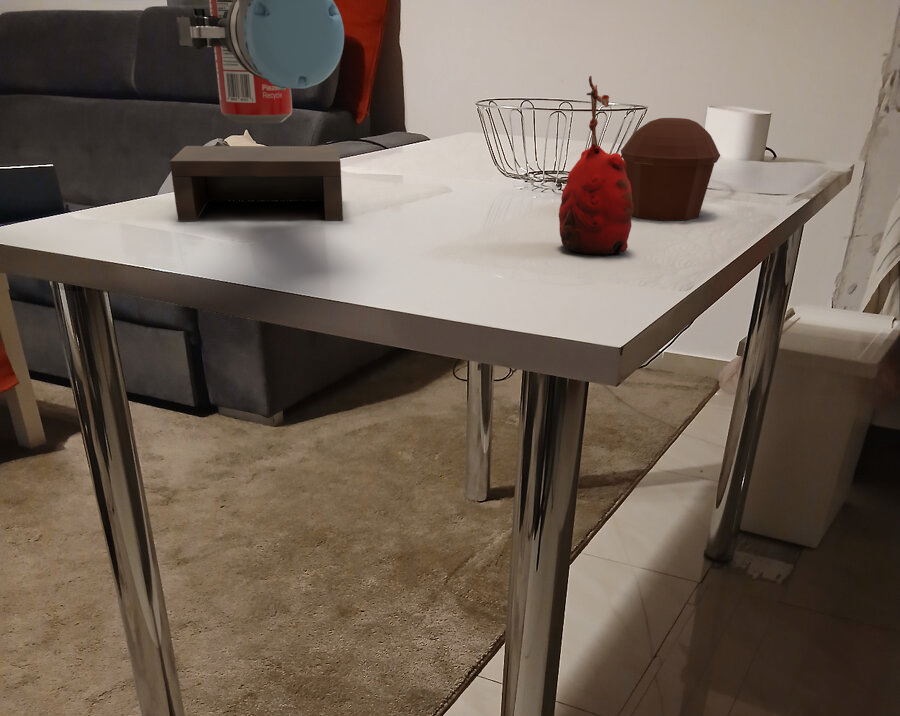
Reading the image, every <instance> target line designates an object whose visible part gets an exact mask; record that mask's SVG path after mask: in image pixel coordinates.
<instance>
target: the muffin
mask: <svg viewBox="0 0 900 716" xmlns="http://www.w3.org/2000/svg"><path fill="white" fill-rule="evenodd" d="M620 155H621V157H622V159H623V160H624V161H625V162H626V165H627V166H626V174H627V178H628V180H629V181H630V184H631V192H632V203H633V206H634V211H633V214H632V217H634V218H637V219H646V220H655V221H687V220H692V219H698V218H699V217H700V214H701V211H702V207H703V204H704V200H705V197H706V194H707V190H708V187H709V184H710V180H711V178H712V177H711V176H712V173H713V170H714V167H715V164H716V163H718V161H719V159H720V157H721V154H720V152H719V149H718V147H717V145H716V143H715V141H714V138H713V137H712V135H711V134H710V133H709V132H708V130H707V129H706V128H705V127H703V126H702V125H701V124H700V123H699V122H697V121H695V120H692V119H689V118H682V117H660V118H657V119H653V120H650V121H648V122H647V123H645V124H644V125H642V126H641V127H639V128H638V129H637V130H635V132H633V134H632V135H631V136H630V138H628V140H627V141H626V143H625V144H624V146H623V147H622V148H621V149H620Z"/></svg>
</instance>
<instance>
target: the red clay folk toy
mask: <svg viewBox="0 0 900 716" xmlns="http://www.w3.org/2000/svg"><path fill="white" fill-rule="evenodd" d="M588 76H589V77H588V83H589V87H590V89H591V91H590V92H586V96H590V100H591V116H592V119H590V120H589V124H588V128H589V129H590V131H591V133H592V134H591V142H590V143H591V145H590V147H589V148H587V149H585V150H583V151H582V152H581V154H580V157H579V159H578V160H577V162H576V163H575V164H574V165H573V167H572V168H571V169H570V171H569V173H568V175H567V178H566V184H565V186H564V187H563V189H562V194H561V202H560V206H559V209H558V222H559V237H560V239H561V244H562V246H563V247H564V248H566V249H567V250H569V251H572V252H575V253H578V254H585V255H598V256H599V255H611V254H613V253H617V254H623V253H624V252H626V251H627V249H628V247H629V245H628V244H629V243H628V240H629V238H630V237H629V236H630V234H631V230H632V217H633V216H632V214H633V211H634V206H633V203H632V192H631V184H630V181H629V180H628V178H627V174H626V166H627V165H626V162H625V161H624V159H623V158H622V155H621V153H617V152H614V153H611V154H610V153H608V152H606V151H605V150H604V149H603V148H602V147H601V146H600V145H599V144H598V139H597V129H596V128H597V126H598V123H599V122H598V119H597V105H598V104H597V103H598V102H599V103H601V104H602V106H603V107H605V108H608V107H609V103H610V96H609V95H608V94H602V96H601V95H599V92H598V85H597V84H593V79H592V75H588Z"/></svg>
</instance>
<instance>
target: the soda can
mask: <svg viewBox="0 0 900 716" xmlns="http://www.w3.org/2000/svg"><path fill="white" fill-rule="evenodd" d="M233 1H234V0H208V5H209V6H208V7H209V14H210V15H209V16H212V17H217V18H222V17H223V16H224V12H225V11H229V8H230V6H231V4H232V2H233ZM213 51H214V52H213V53H214V62H215V71H216V80H217V81H216V82H217V91H218V100H219V108H220V113H221V115H222V116H224V117H225V118H226V119H228V120H230V121H231V122H233V123H236V124H248V125H249V124H251V125H262V124H263V125H267V124H268V125H269V124H270V125H271V124H280V123H283V122H284V121H286V120H287V119H288V118H289V117H291V115H292V114H293V98H292V97H293V96H292V88H286V89H285V90H283V91H282V90H277V89H276V87H275V85H273V84H272V83H270V82H269V81H268V80H265V79H262V78H259V77H257V76H255V75H253V74H251V73H249V72H248V71H247V70H245V69H244V68H243V67H242V66H241V65H240V64H239V62H238V61H237V60H236V58H235V57H234V55H233V53H230V52H228V50H227V47H226V46H216V47H213Z"/></svg>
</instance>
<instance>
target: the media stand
mask: <svg viewBox="0 0 900 716" xmlns="http://www.w3.org/2000/svg"><path fill="white" fill-rule="evenodd" d="M169 164H170V165H169V166H170V172H171V173H170V174H171V180H172V188H173V194H174V201H175V208H176V209H175V210H176V216H177V222H197V221H198V219H199V217H200V215H201V214H202V212H203V210H204V209H205V208H206V206H207V204H208V203H210V202H212V203H213V202H214V203H215V202H219V203H220V202H221V203H222V202H225V203H226V202H229V203H230V202H231V203H232V202H323V208H324V221H343V220H344V211H343V209H344V208H343V187H342V186H343V185H342V165H341V157H340V153H339V148H338V146H336V145H335V146H332V145H331V146H330V145H329V146H327V145H325V146H323V145H321V146H320V145H317V146H316V145H314V146H313V145H311V146H310V145H304V146H303V145H301V146H300V145H297V146H296V145H295V146H294V145H272V146H271V145H185V146H184V147H183V148H182V149H180V151H179V152H178V153H176V155H174V157H172V158H171V159H170V160H169Z"/></svg>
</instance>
